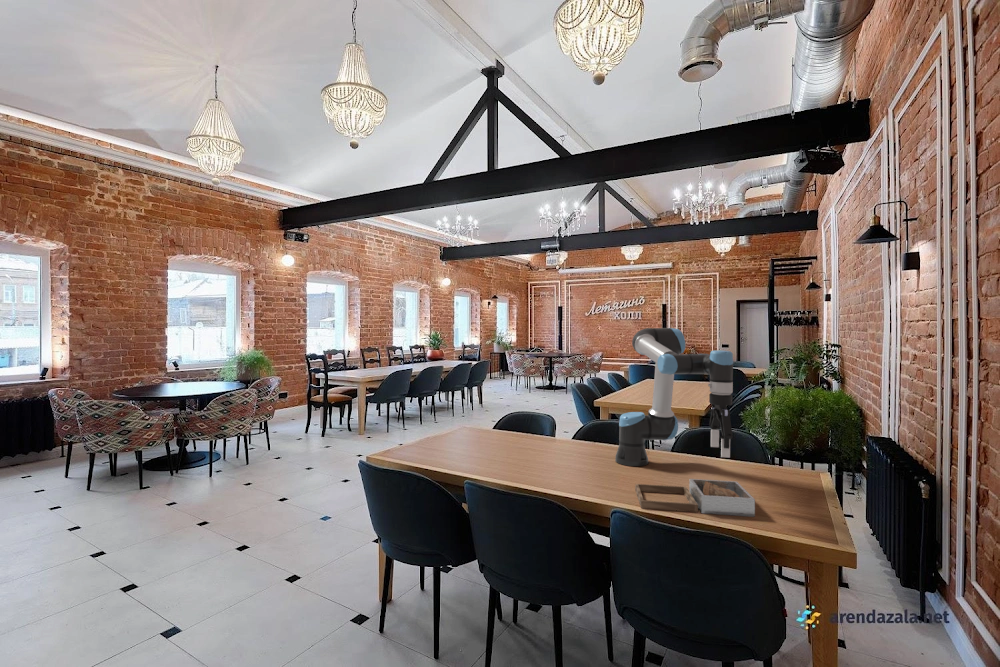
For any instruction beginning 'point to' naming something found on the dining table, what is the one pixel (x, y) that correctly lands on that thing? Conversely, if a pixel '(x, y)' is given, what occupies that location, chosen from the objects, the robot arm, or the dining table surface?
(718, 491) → the stone
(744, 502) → the bin
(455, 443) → the dining table surface
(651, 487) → the frame
